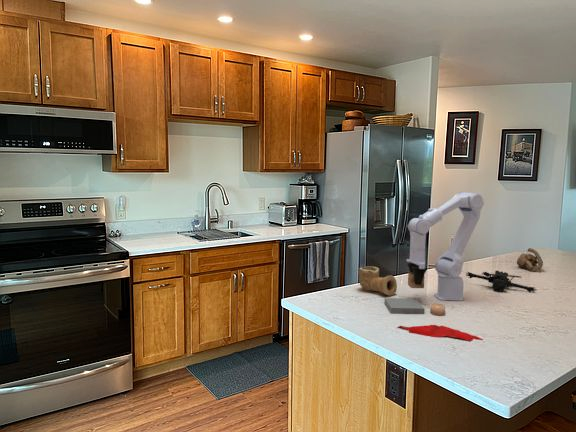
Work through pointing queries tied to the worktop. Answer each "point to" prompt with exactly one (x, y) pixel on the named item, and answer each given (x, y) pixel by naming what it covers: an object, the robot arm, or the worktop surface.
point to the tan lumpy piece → (530, 261)
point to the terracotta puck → (437, 309)
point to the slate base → (404, 306)
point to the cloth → (439, 332)
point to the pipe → (376, 281)
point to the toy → (500, 280)
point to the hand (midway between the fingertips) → (416, 282)
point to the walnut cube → (412, 281)
